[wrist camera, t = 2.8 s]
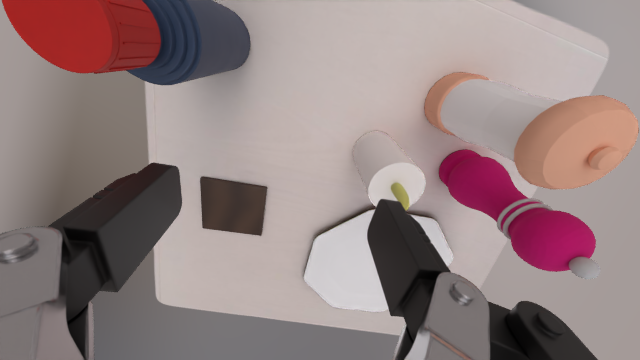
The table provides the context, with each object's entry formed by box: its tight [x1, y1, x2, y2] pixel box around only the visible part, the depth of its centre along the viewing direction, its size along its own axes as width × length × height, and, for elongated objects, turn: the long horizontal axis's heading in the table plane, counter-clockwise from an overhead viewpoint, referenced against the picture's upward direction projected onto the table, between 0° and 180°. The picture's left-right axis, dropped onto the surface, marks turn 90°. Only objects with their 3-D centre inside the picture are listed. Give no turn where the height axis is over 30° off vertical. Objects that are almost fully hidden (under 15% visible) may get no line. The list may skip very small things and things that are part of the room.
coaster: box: [200, 177, 267, 236], centre depth 38 cm, size 10×10×1 cm
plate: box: [304, 209, 453, 312], centre depth 46 cm, size 28×28×2 cm
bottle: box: [126, 0, 250, 85], centre depth 18 cm, size 6×6×20 cm
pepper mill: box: [439, 150, 600, 279], centre depth 28 cm, size 7×7×20 cm
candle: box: [353, 131, 426, 210], centre depth 28 cm, size 6×6×15 cm
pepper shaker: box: [424, 72, 639, 189], centre depth 23 cm, size 7×7×19 cm
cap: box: [2, 0, 161, 73], centre depth 11 cm, size 4×4×4 cm
